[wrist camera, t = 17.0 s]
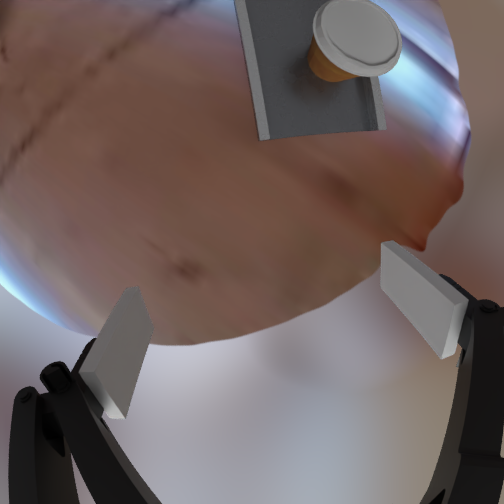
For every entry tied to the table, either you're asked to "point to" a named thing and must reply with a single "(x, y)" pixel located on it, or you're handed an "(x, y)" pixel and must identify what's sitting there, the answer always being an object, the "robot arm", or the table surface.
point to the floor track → (298, 76)
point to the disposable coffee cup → (353, 41)
